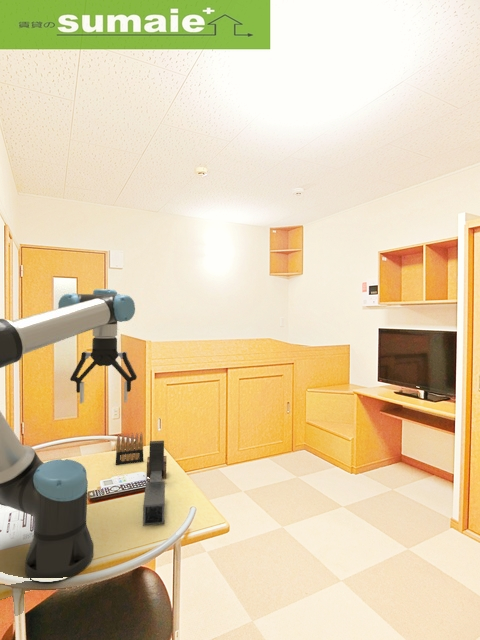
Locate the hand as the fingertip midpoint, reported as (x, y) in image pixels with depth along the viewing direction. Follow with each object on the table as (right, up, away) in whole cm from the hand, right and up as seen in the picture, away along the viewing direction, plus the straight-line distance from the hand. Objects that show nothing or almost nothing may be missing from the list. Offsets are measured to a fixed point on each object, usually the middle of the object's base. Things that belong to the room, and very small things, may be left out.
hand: (104, 402), depth 120 cm
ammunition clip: (0, -31, +29) cm, 42 cm away
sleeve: (+18, -32, -6) cm, 38 cm away
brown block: (+13, -32, +18) cm, 38 cm away
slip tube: (+15, -31, +8) cm, 35 cm away
